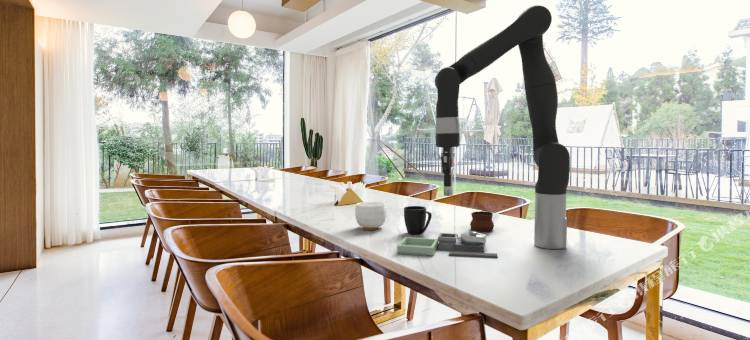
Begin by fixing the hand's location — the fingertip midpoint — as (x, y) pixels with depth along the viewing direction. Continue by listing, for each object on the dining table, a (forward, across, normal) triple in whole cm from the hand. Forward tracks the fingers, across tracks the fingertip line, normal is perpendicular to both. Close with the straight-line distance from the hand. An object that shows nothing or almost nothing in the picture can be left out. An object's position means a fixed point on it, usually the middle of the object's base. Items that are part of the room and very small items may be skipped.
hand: (448, 185), depth 133 cm
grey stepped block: (+20, 0, -4) cm, 20 cm away
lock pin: (+3, 0, 0) cm, 3 cm away
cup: (+20, +19, +33) cm, 43 cm away
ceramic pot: (+21, +26, -9) cm, 35 cm away
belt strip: (+20, -9, -8) cm, 23 cm away
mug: (+20, +14, +13) cm, 28 cm away
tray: (+20, -7, +9) cm, 23 cm away
